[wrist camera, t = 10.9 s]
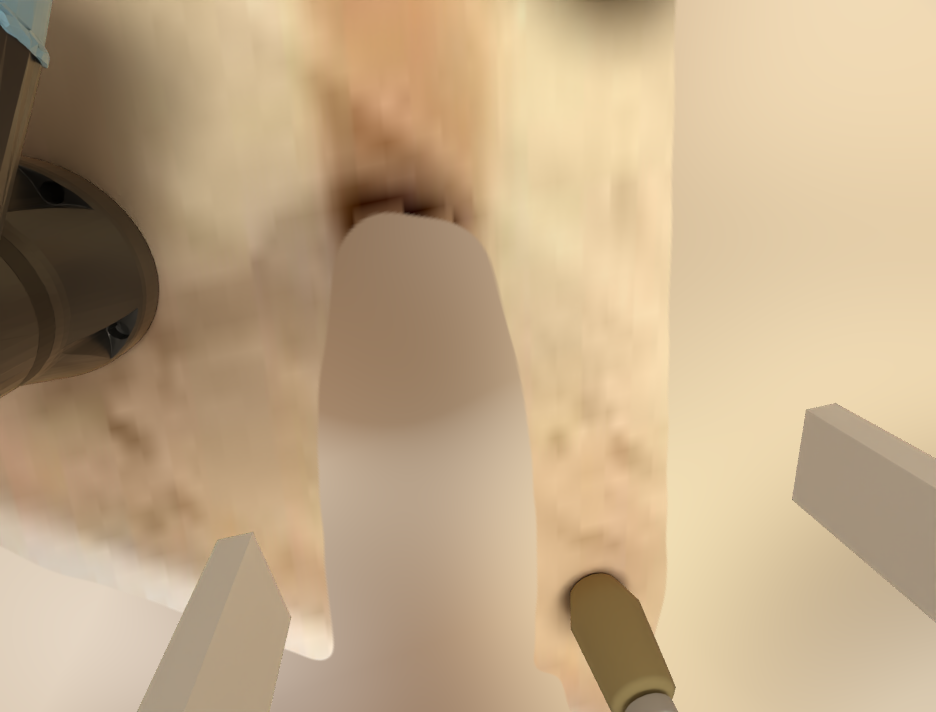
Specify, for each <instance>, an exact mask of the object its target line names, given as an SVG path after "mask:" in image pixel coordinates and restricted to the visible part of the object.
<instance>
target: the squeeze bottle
mask: <svg viewBox="0 0 936 712" xmlns="http://www.w3.org/2000/svg"><path fill="white" fill-rule="evenodd" d="M570 616H571V630H572V632H573V634H574V636H575V638H576V640H577V642H578V644H579V646H580V649H581V651H582V653H583V655H584V657H585V659H586V661H587V663H588V665H589V667H590V669H591V671H592V673H593V675H594V677H595V679H596V681H597V683H598V685H599V687H600V689H601V691H602V693H603V695H604V697H605V700H606V702H607V704H608V706H609V708H610V710H611V712H678V711H677V709H676V707H675V705H674V703H673V701H672V698H673V695H674V692H675V688H676V687H675V684H674V682H673V679H672V677H671V674H670V672H669V670H668V667H667V665H666V663H665V660H664V658H663V656H662V653H661V651H660V649H659V646H658V644H657V642H656V639H655V637H654V635H653V632H652V630H651V628H650V625H649V623H648V620H647V618H646V616H645V613H644V611H643V609H642V606H641V604H640V602H639V600H638V599H637V598H636V597H635V596H634V595H633V594H632V593H630V592H629V591H628V590H627V589H626V588H625V587H624V586H623V585H622V584H621V583H620V582H619V581H618V580H616V579H615V578H614V577H613V576H611V575H608V574H603V573H600V574H592V575H590V576H587V577H585V578H583V579H581V580H580V581H579V582H578V583H577V584H575V586H574V587H573V589H572V591H571V594H570Z"/></svg>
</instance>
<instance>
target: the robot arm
mask: <svg viewBox="0 0 936 712" xmlns="http://www.w3.org/2000/svg"><path fill="white" fill-rule="evenodd" d="M52 1H53V0H0V398H1V397H3V396H4V395H6V394H8V393H9V392H11V391H12V390H14V389H16V388H18V387H19V386H23V385H28V384H34V383H39V382H45V381H51V380H56V379H62V378H68V377H73V376H78V375H82V374H85V373H88V372H91V371H93V370H96V369H98V368H101V367H103V366H105V365H107V364H108V363H110V362H112V361H113V360H115V359H116V358H117V357H119V356H120V355H122V354H123V353H125V352H126V351H127V350H129V349H130V348H131V347H133V346H134V345H135V344H136V343H137V342H138V341H139V340H140V339H141V338H142V337H143V335H144V334H145V333H146V331H147V330H148V328H149V326H150V324H151V322H152V320H153V317H154V314H155V311H156V307H157V302H158V278H157V272H156V268H155V264H154V261H153V258H152V255H151V253H150V250H149V248H148V246H147V244H146V242H145V240H144V238H143V236H142V235H141V233H140V232H139V230H138V228H137V227H136V226H135V224H134V223H133V222H132V220H131V219H130V218H129V217H128V215H127V214H126V213H125V212H124V211H123V210H122V209H121V208H120V207H119V206H118V205H117V204H116V203H115V202H114V201H113V200H112V199H111V198H110V197H109V196H107V195H106V194H105V193H104V192H103V191H101V190H100V189H99V188H97V187H96V186H94V185H93V184H91V183H90V182H88V181H87V180H85V179H83V178H82V177H80V176H78V175H76V174H74V173H72V172H71V171H68V170H66V169H64V168H62V167H59V166H57V165H54V164H51V163H49V162H45V161H42V160H38V159H34V158H30V157H25V156H21V152H22V148H23V144H24V140H25V136H26V132H27V128H28V123H29V119H30V115H31V111H32V107H33V103H34V99H35V95H36V91H37V86H38V82H39V78H40V74H41V70H42V67H44V68H48V65H49V61H50V57H49V53H48V51H47V50H46V48H45V43H46V37H47V31H48V25H49V19H50V13H51V7H52ZM792 500H793V501H794V502H795V503H797V504H798V505H799V506H800V507H801V508H802V509H804V510H805V511H806V512H807V513H808V514H809V515H811V516H812V517H813V518H814V519H816V521H818V522H819V523H820V524H821V525H822V526H823V527H825V528H826V529H827V530H828V531H829V532H831V533H832V534H833V535H834V536H835V537H836V538H838V539H839V540H840V541H841V542H842V543H844V544H845V545H846V546H847V547H848V548H849V549H850V550H852V551H853V552H854V553H855V554H856V555H858V556H859V557H860V558H861V559H862V560H863V561H864V562H866V563H867V564H868V565H869V566H870V567H871V568H873V569H874V570H875V571H876V572H877V573H879V574H880V575H881V576H882V577H883V578H884V579H886V580H887V581H888V582H889V583H890V584H891V585H893V586H894V587H895V588H896V589H897V590H898V591H900V592H901V593H902V594H903V595H904V596H905V597H907V598H908V599H909V600H910V601H911V602H913V603H914V604H915V605H916V606H917V607H918V608H920V609H921V610H922V611H923V612H924V613H925V614H927V615H928V616H929V617H930V618H931V619H932V620H934V621H935V622H936V458H934V457H932V456H931V455H929V454H927V453H925V452H923V451H922V450H920V449H918V448H916V447H914V446H912V445H911V444H909V443H907V442H905V441H903V440H902V439H900V438H898V437H896V436H894V435H892V434H890V433H889V432H887V431H885V430H883V429H882V428H880V427H878V426H876V425H874V424H872V423H871V422H869V421H867V420H865V419H863V418H862V417H860V416H858V415H856V414H854V413H853V412H850V411H849V410H847V409H845V408H843V407H842V406H840V405H838V404H836V403H834V404H830V405H825V406H821V407H816V408H812V409H807V410H806V414H805V420H804V426H803V433H802V439H801V445H800V452H799V458H798V465H797V471H796V478H795V484H794V490H793V497H792ZM290 620H291V616H290V614H289V611H288V609H287V607H286V605H285V602H284V600H283V598H282V596H281V594H280V591H279V589H278V587H277V585H276V582H275V580H274V578H273V576H272V573H271V571H270V569H269V567H268V565H267V562H266V560H265V558H264V556H263V553H262V551H261V549H260V547H259V544H258V542H257V540H256V538H255V535H254V533H253V532H251V533H246V534H242V535H237V536H233V537H228V538H224V539H219V540H217V542H216V544H215V547H214V549H213V551H212V553H211V555H210V557H209V559H208V562H207V564H206V566H205V568H204V570H203V572H202V574H201V576H200V579H199V581H198V583H197V585H196V587H195V589H194V591H193V593H192V596H191V598H190V600H189V602H188V604H187V606H186V608H185V611H184V613H183V615H182V617H181V619H180V621H179V623H178V625H177V628H176V630H175V632H174V634H173V636H172V638H171V641H170V643H169V645H168V647H167V649H166V651H165V653H164V655H163V658H162V660H161V662H160V664H159V666H158V668H157V670H156V672H155V674H154V677H153V679H152V681H151V683H150V685H149V687H148V690H147V692H146V694H145V696H144V698H143V700H142V702H141V704H140V706H139V709H138V711H137V712H270V707H271V703H272V699H273V694H274V690H275V685H276V681H277V676H278V672H279V668H280V664H281V659H282V655H283V651H284V646H285V642H286V638H287V633H288V629H289V624H290Z"/></svg>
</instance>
